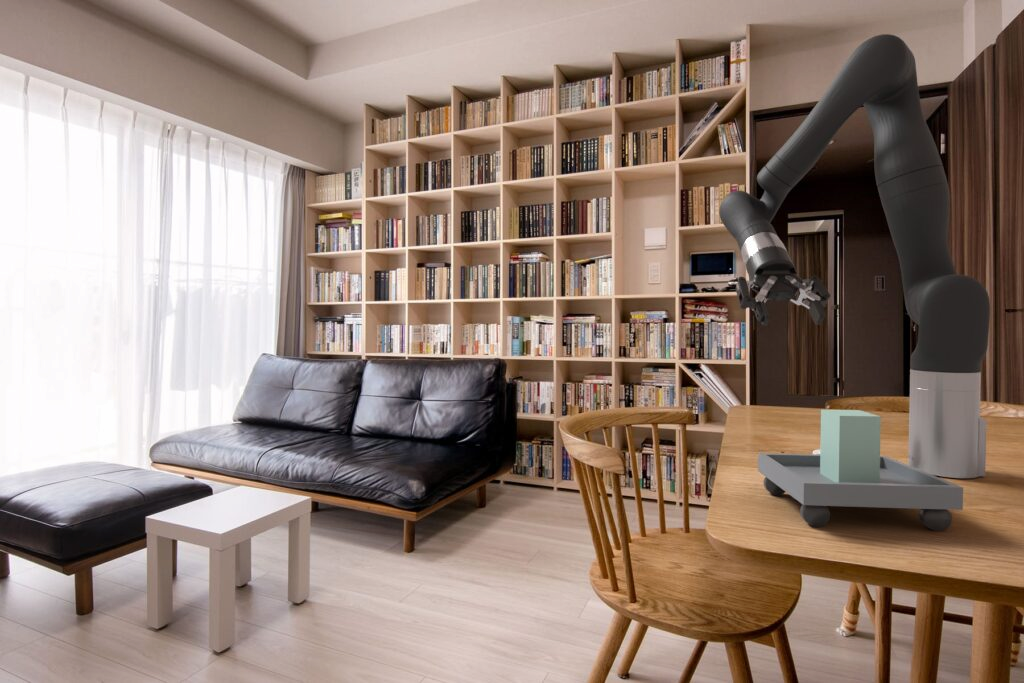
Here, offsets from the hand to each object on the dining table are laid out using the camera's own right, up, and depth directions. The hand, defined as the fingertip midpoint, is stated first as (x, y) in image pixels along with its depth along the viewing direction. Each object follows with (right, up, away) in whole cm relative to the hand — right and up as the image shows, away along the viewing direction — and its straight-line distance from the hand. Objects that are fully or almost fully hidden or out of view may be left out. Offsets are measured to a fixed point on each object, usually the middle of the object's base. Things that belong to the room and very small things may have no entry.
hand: (793, 321), depth 86 cm
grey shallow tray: (-2, -26, -17) cm, 31 cm away
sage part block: (-2, -22, -17) cm, 28 cm away
